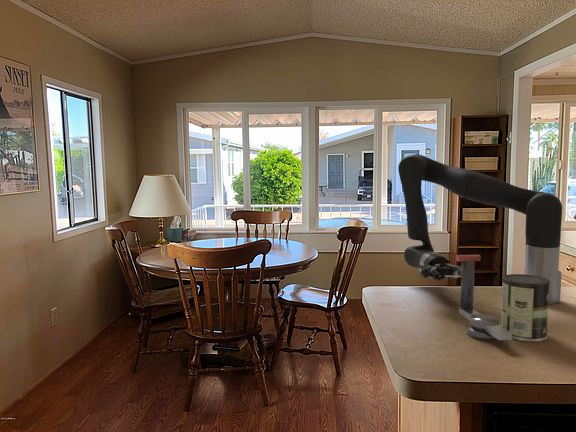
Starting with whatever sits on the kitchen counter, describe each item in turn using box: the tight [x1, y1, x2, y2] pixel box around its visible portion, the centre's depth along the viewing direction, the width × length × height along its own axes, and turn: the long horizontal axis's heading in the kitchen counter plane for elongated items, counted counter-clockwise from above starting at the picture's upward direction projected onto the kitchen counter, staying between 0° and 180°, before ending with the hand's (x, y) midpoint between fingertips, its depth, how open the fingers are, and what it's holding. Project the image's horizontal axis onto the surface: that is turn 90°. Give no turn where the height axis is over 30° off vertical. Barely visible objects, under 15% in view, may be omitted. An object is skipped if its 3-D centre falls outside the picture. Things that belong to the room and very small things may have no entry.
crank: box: [455, 254, 513, 341], centre depth 110 cm, size 20×6×16 cm, turn 6°
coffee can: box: [500, 273, 550, 343], centre depth 109 cm, size 10×10×14 cm
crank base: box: [466, 323, 499, 342], centre depth 110 cm, size 8×8×2 cm
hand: (453, 277), depth 127 cm, fingers open, 8 cm apart
